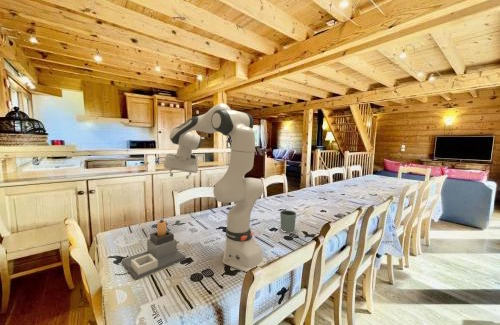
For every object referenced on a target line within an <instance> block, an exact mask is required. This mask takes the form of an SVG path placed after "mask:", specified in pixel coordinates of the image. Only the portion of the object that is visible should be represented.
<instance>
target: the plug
mask: <svg viewBox="0 0 500 325" xmlns="http://www.w3.org/2000/svg"><path fill="white" fill-rule="evenodd" d="M156 227H157V229H156V230H157V231H156V232H157V237H158V238H160V237H163V236H166V230H167V220H164V219H160V220H159V221H157V223H156Z"/></svg>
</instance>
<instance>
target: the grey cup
mask: <svg viewBox="0 0 500 325" xmlns="http://www.w3.org/2000/svg"><path fill="white" fill-rule="evenodd" d="M296 218H297V213H296V211H293V210H288V209H286V210H280V230H281V229H282V230H283V231H286V232H293V231H294V232H295V229H296V227H295V226H296ZM294 232H293V233H294Z"/></svg>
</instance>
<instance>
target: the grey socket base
mask: <svg viewBox="0 0 500 325" xmlns="http://www.w3.org/2000/svg"><path fill="white" fill-rule="evenodd" d="M177 242H178V241H177V239H176V238H175V236H174V233H172V232H171V231H169V230H167V229H166V236H163V237H160V238H158V237H157V231H156V232H151V233H150V234H149V239H147V240H146V248H147V249H146V251H144V252H140V253H137V254H135V255H131V256H129V257H126V258H123V259H121V263H122V265H123V266H124V267H125V268H126V270H127V271H128V273H130V275H131V276H132V277H133V278H134V279H135V280H136V281H137V280H139V279H140V280H141V279H142V278H144V277H147V276H149V275H152V274H154V273H157V272H159V271H161V270H163V269H165V268H168V267H170V266H172V265H175V264H177V263H180V262H182V261H184V260H186V255H184V254H183V253H182V252H180V251H179V250H178V249H177Z"/></svg>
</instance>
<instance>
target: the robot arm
mask: <svg viewBox="0 0 500 325" xmlns="http://www.w3.org/2000/svg"><path fill="white" fill-rule="evenodd" d="M253 128H254V117H253V116H252V115H251V114H249V113H248V112H245V111H238V110H235V109H232V108H230V106H229V105H228V104H226V103H224V102H221V103H217V104H216V105H214V106H213V107H211V108H210V109H209V110H208V111H207V112H205V113H204V114H200V115H196V116H192V117H191V118H189V119H188V120H186V121H185V122H183V123H181V124H180V125H178V126H176V127H174V128H172V130H171V131H170V134H169V139H170V141H171V142H172V144H174V145H178V148H177V150H176V154H172V153H168V154H166V155H165V157H164V158H165V160H164V164H163V167H164V169H168V170H169V173H170V174H169V177H174V176H173V175H174V173H173V170H175V171H181V172H188V174H187V175H186V177H185V179H187V180H189V179H190V176H191V175H192V173H195V174H197V173H198V172H199V162H198V161H199V159H198V158H199V157H198V156H197V155H195V154H193V153H192V152H193V151H195V150H199V148H201V146H202V142H203V140H202V137H201V135H199V134H197V133H195V132H193V131H197V132H200V133H201V132H202V133H205V134H215V133H221V134H222V135H223V136H228V135H229V137H230V139H231V146H230V157H229V158H230V159H229V163H228V164H229V165H228V166H227V167H228V168H227V169H226V172H225V173H224V175H223V176H222V177H221V178H220V179H219V180H218V181H216V182H215V184H214V187H213V192H212V193H213V196H214V199H215V200H216V201H217V202H219V203H227V204H229V203H235V205H234V206H233V207H232V208H231V209H229V210H228V212H227V218H226V222H227V223H226V224H227V225H226V229H225V237H226V239H225V243H224V251H223V254H222V260H221V263H222V264H225V265H227V266H228V267H231V268H234V269H236V270H238V271H241V272H243V271H245V272H244V273H246V272H247V271H248V270H249V269H251V268H253V267H256V266H261V265H264V264H266V263H267V264H268V259H267V258H266V257H265V256H263V250H262V248H261V246H260V245H259V244H258V242H256V240H255V239H254V238H253V235H254V234H255V232H252V231H251V227H250V226H251V225H250V224H251V214H252V211H253V209H254V208H253V207H254V206H255V204H256V202H257V201H258V200H259V199H260V198H261V197H262V195H263V193H264V187H265V186H264V183H263V182H262V181H261V179H259V178H256V177H244V176H246V174H247V173H249V172H250V171H251V170H253V167H254V162H255V161H254V159H255V151H256V150H255V149H256V134H255V131H254V129H253ZM267 264H266V265H267Z"/></svg>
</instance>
